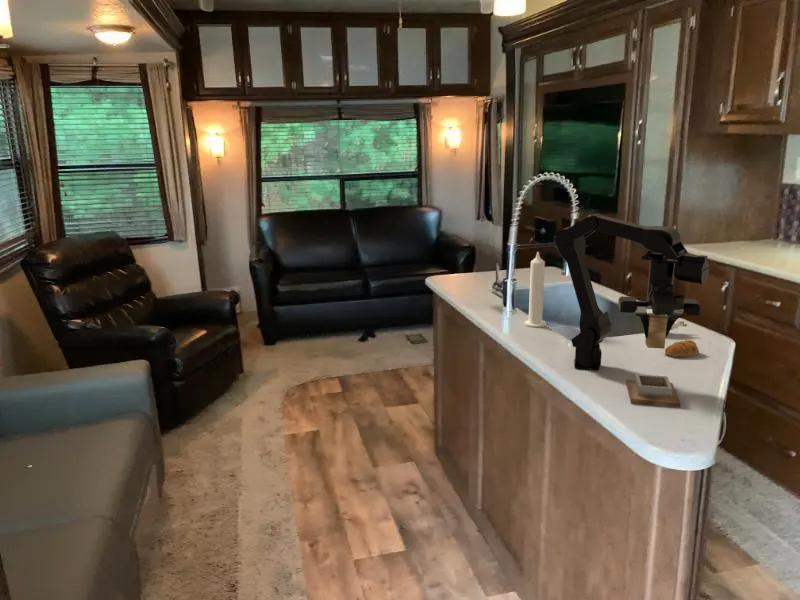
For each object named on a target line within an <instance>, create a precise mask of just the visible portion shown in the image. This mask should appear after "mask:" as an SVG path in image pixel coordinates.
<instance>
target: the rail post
mask: <svg viewBox="0 0 800 600" xmlns="http://www.w3.org/2000/svg"><path fill="white" fill-rule="evenodd" d="M647 314H648V337H647V338H646V337H645V340H644V343H645V345H646V347H647V349H666V348H665V345H666V339H667V337H666V327H667V317H666V315H654V314H653V313H652V312H651V313H650V312H648V313H647ZM665 338H666V339H665Z"/></svg>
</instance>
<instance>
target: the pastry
mask: <svg viewBox="0 0 800 600" xmlns="http://www.w3.org/2000/svg"><path fill="white" fill-rule="evenodd" d="M664 349H665V350H664V351H665V352H664V355H666V356H669V357H672V358H688V357H689V358H691V357H695V356H698V354H700V350H699V347H698V346H697V343H696V342H695V341H693V340H688V339H685V340H684V341H682V340H680V341H675V342H674V343H672V344H671V345H668V346H667V347H666V348H664ZM690 356H691V357H690Z"/></svg>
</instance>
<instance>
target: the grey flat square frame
mask: <svg viewBox="0 0 800 600" xmlns="http://www.w3.org/2000/svg"><path fill="white" fill-rule="evenodd" d="M634 380H635V381H634V384H635V388H636V391H637V395H638V396H649V397H661V398H671V396H672V387H671V384H670V383H671V382H670V379H669V378H668V376H664V375H649V374H637V373H636V374H634Z"/></svg>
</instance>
